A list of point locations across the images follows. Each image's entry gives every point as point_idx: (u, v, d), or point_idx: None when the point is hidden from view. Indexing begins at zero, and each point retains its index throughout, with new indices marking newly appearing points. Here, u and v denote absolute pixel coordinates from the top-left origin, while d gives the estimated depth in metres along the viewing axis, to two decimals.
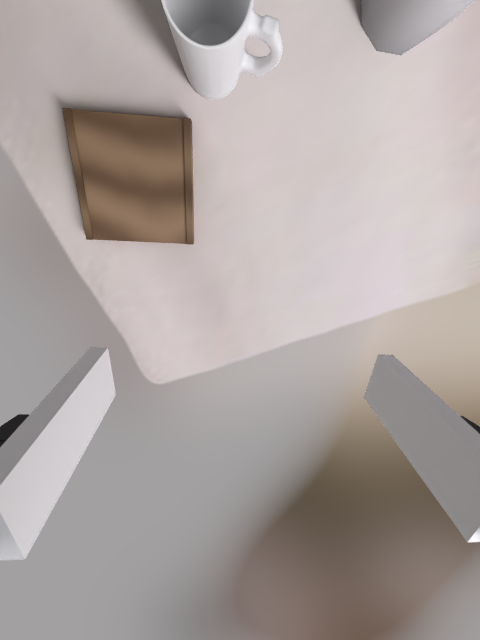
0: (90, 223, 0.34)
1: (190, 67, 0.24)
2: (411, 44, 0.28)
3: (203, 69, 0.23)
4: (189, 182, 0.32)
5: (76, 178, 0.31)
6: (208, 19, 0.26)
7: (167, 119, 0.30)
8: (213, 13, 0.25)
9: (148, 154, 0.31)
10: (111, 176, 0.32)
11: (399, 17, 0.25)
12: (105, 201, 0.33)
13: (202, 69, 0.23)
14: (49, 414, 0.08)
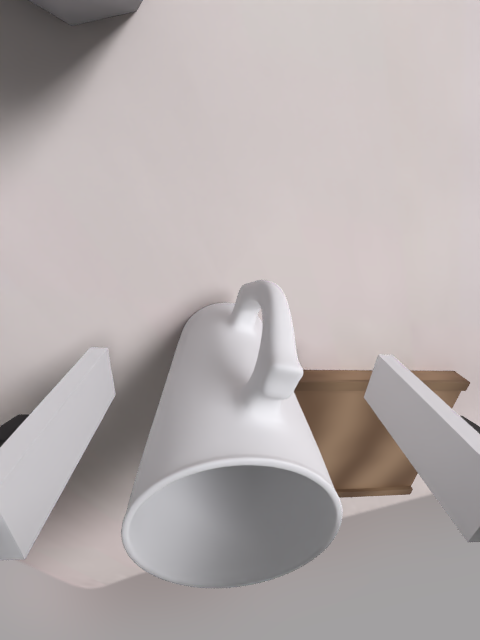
0: (391, 487, 0.26)
1: None
2: None
3: None
4: None
5: (343, 496, 0.25)
6: None
7: None
8: None
9: (330, 429, 0.22)
10: (346, 465, 0.24)
11: None
12: (372, 473, 0.25)
13: None
14: (49, 414, 0.08)
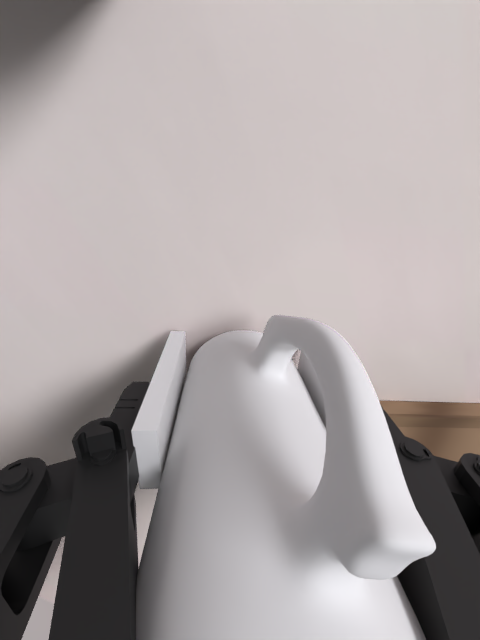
0: None
1: None
2: None
3: None
4: (425, 420, 0.17)
5: None
6: None
7: None
8: None
9: None
10: None
11: None
12: None
13: None
14: (166, 379, 0.10)
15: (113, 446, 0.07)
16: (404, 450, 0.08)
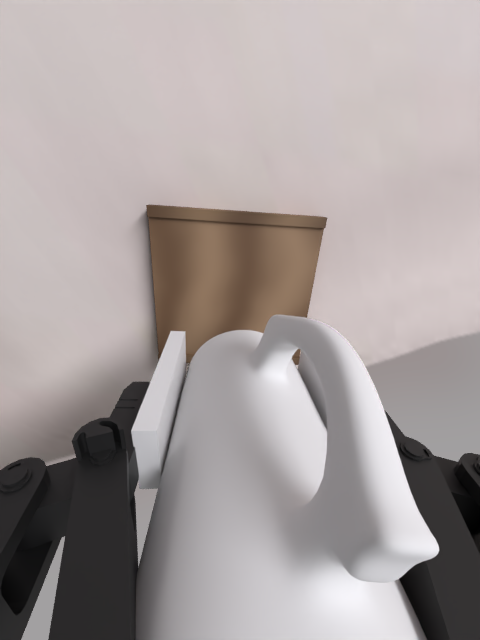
0: None
1: None
2: None
3: None
4: (232, 215, 0.20)
5: None
6: None
7: (152, 241, 0.21)
8: None
9: (197, 274, 0.22)
10: (225, 323, 0.24)
11: None
12: None
13: None
14: (166, 379, 0.10)
15: (113, 446, 0.07)
16: (404, 450, 0.08)
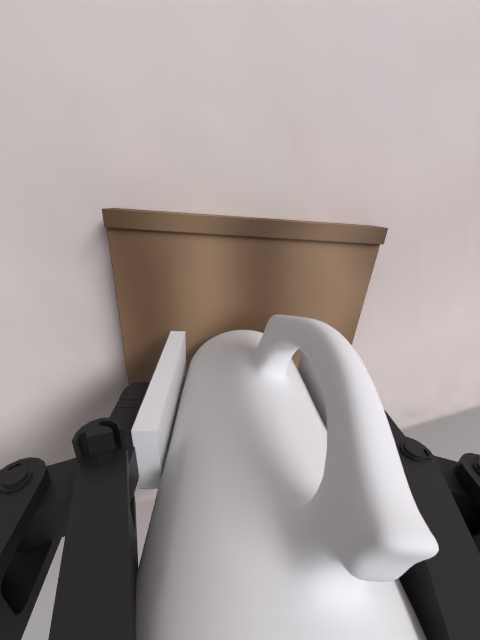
0: None
1: None
2: None
3: None
4: (241, 224, 0.13)
5: None
6: None
7: (116, 264, 0.13)
8: None
9: (187, 311, 0.15)
10: None
11: None
12: None
13: None
14: (166, 379, 0.10)
15: (113, 446, 0.07)
16: (404, 450, 0.08)
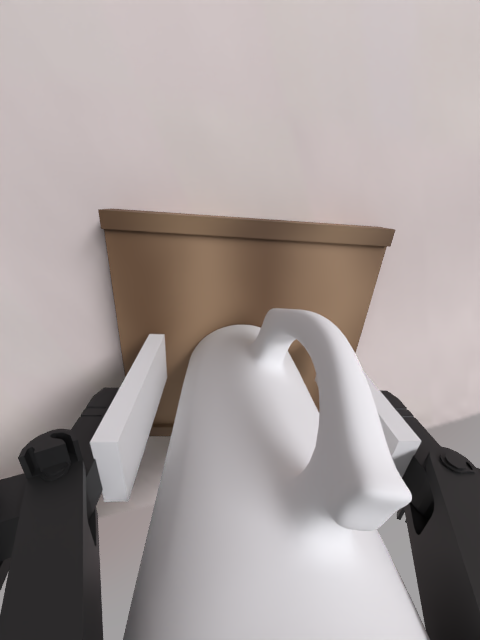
0: None
1: None
2: None
3: None
4: (242, 225, 0.12)
5: None
6: None
7: (113, 267, 0.13)
8: None
9: (187, 315, 0.14)
10: None
11: None
12: None
13: None
14: (137, 385, 0.10)
15: (67, 459, 0.07)
16: (445, 461, 0.08)
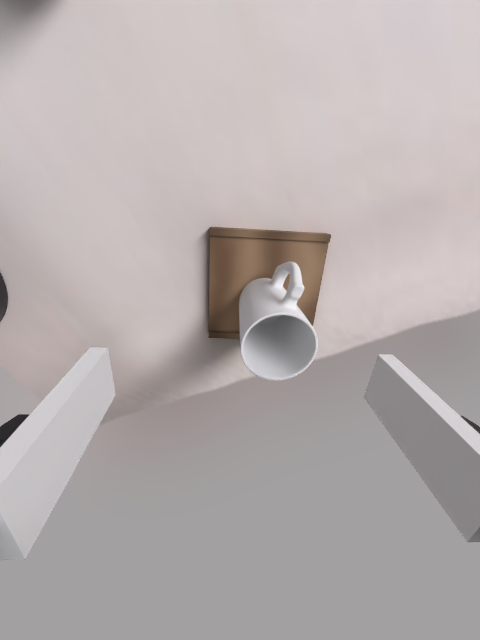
0: None
1: None
2: None
3: None
4: (266, 233, 0.30)
5: None
6: None
7: (211, 251, 0.31)
8: None
9: (240, 273, 0.32)
10: None
11: None
12: None
13: None
14: (49, 414, 0.08)
15: None
16: None
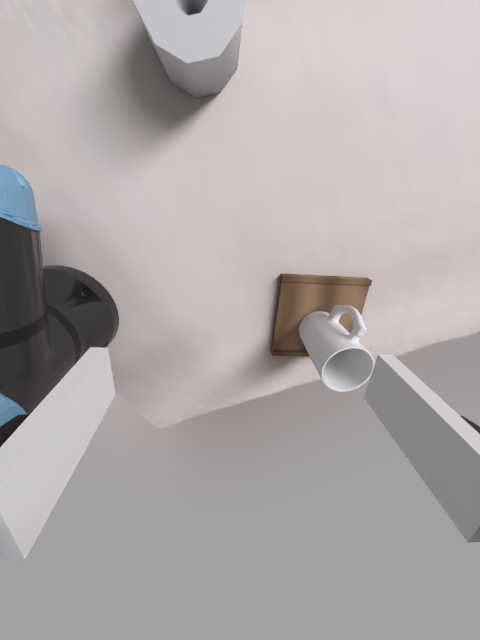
0: None
1: None
2: None
3: None
4: (324, 280, 0.40)
5: None
6: None
7: (281, 292, 0.40)
8: None
9: (301, 308, 0.42)
10: None
11: (234, 53, 0.26)
12: None
13: None
14: (49, 414, 0.08)
15: None
16: None
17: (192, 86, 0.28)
